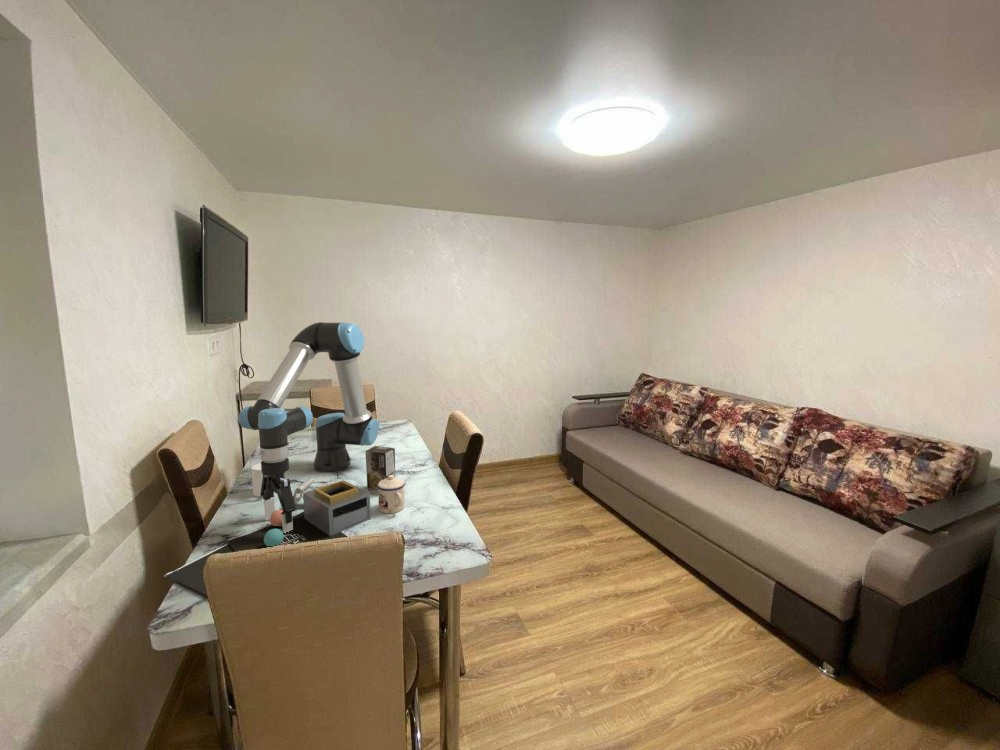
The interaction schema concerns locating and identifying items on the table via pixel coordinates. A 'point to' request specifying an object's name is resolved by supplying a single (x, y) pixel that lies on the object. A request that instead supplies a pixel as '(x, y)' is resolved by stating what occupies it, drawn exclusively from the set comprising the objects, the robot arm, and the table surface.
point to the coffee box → (379, 466)
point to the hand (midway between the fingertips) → (278, 525)
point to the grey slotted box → (337, 507)
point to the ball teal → (273, 537)
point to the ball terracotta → (276, 518)
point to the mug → (257, 479)
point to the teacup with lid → (391, 495)
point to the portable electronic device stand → (302, 490)
